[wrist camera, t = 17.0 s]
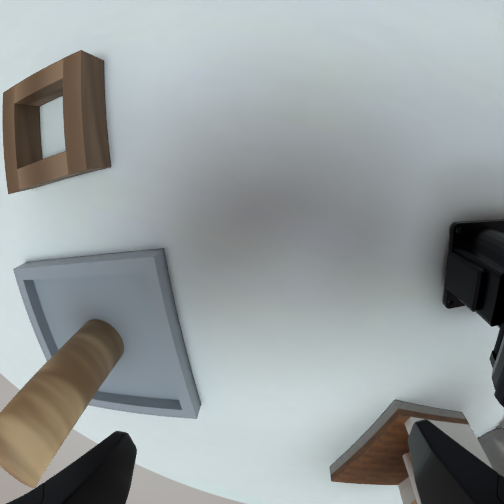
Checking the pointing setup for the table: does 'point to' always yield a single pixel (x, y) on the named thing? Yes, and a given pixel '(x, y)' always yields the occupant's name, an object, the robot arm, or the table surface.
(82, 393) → the oak dowel
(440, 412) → the spiral staircase model
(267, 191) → the table surface
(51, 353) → the plastic tray
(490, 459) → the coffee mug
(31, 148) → the walnut holder
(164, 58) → the table surface
